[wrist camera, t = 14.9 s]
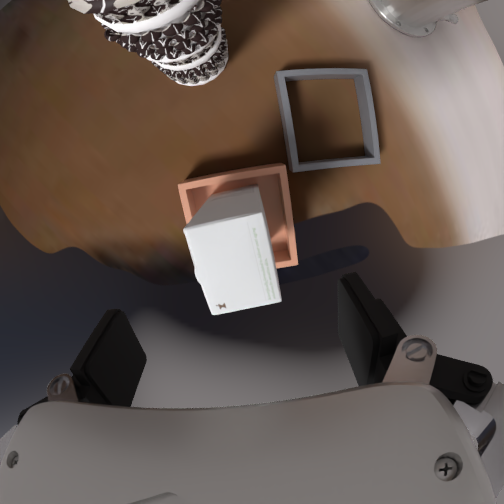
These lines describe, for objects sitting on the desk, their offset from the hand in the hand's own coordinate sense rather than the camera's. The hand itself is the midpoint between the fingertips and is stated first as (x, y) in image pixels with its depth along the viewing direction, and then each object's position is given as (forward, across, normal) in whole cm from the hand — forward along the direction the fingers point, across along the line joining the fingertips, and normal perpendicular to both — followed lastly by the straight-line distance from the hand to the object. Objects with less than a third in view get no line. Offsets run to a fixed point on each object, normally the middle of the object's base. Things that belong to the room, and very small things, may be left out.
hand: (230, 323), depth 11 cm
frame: (+26, -12, -8) cm, 30 cm away
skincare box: (+26, +1, +3) cm, 26 cm away
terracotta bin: (+26, +1, +3) cm, 27 cm away
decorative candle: (+27, +2, -20) cm, 33 cm away
